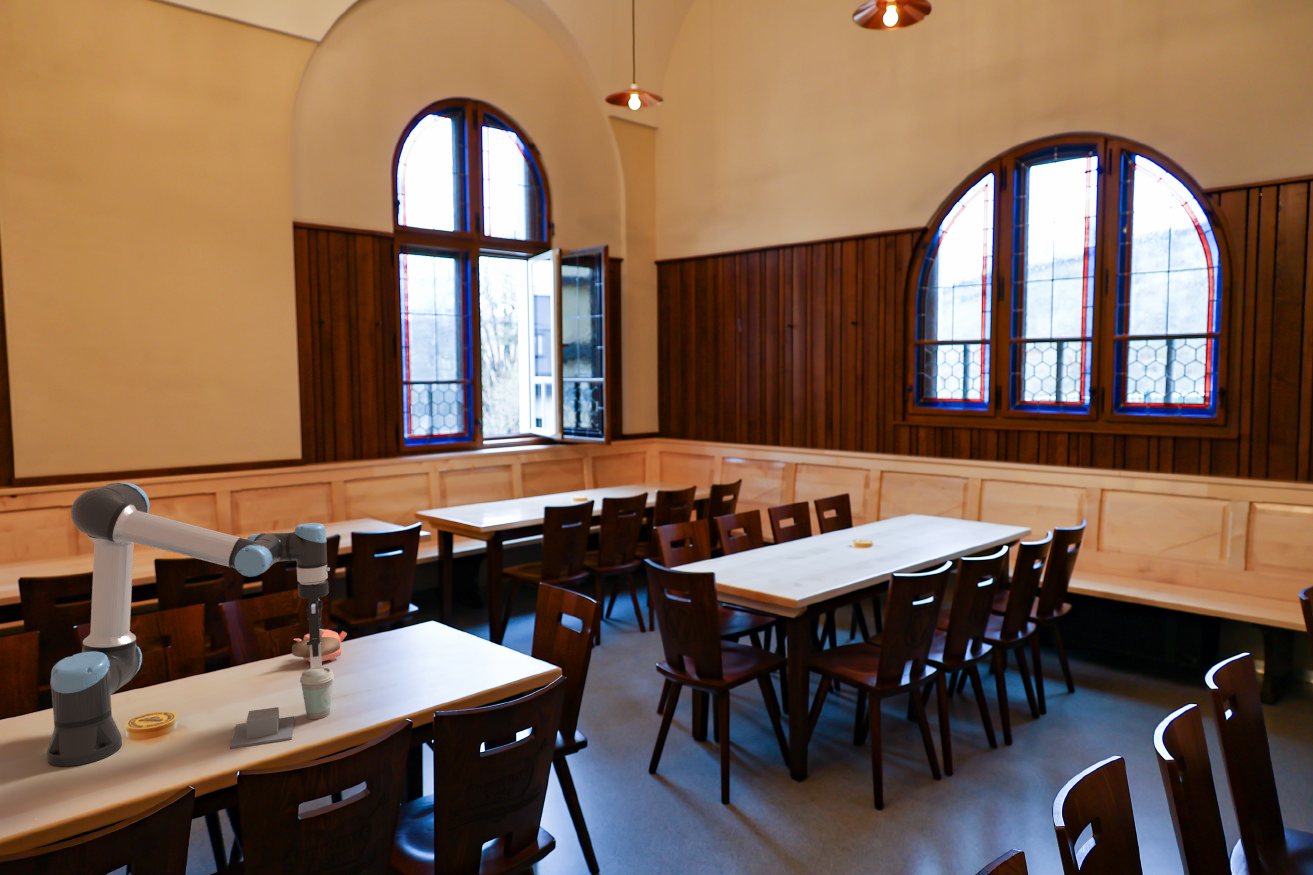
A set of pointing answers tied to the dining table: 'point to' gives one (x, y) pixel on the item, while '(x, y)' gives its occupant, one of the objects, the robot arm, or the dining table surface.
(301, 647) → the lid
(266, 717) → the grey stepped base plate
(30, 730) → the dining table surface
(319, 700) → the coffee cup
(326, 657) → the teapot
